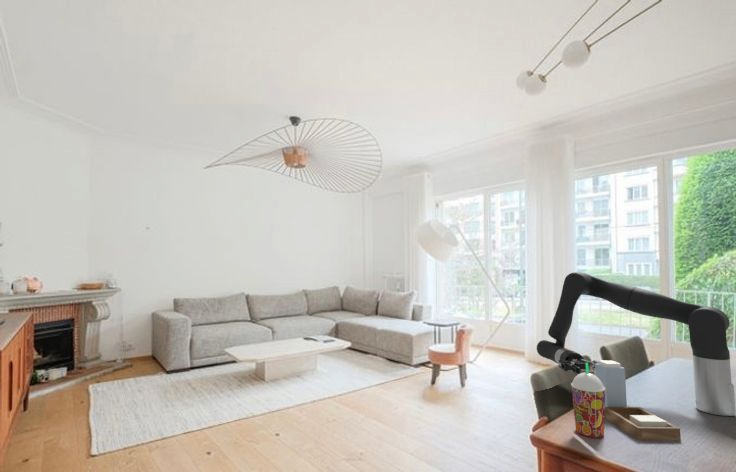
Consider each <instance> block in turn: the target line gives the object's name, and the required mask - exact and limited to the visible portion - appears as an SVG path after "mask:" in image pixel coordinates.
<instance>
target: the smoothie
mask: <svg viewBox="0 0 736 472" xmlns="http://www.w3.org/2000/svg"><path fill="white" fill-rule="evenodd" d="M588 369H589V368H588V363H586V371H585V372H580V374H577V375H575V376H574V378H573V380H572V382H570V386H571V394H572V405H573V415H574V423H575V424H574V425H575V431H576V432H577V433H578V434H580V435H581V436H583V437H586V438H592V439H600V438H602V437H604V435H605V417H604V414H605V387H604V386H603V384H602V382H601V380H600V379H599V378H598V377H597V376H595V373H592V372H590V371H589V370H588Z"/></svg>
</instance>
